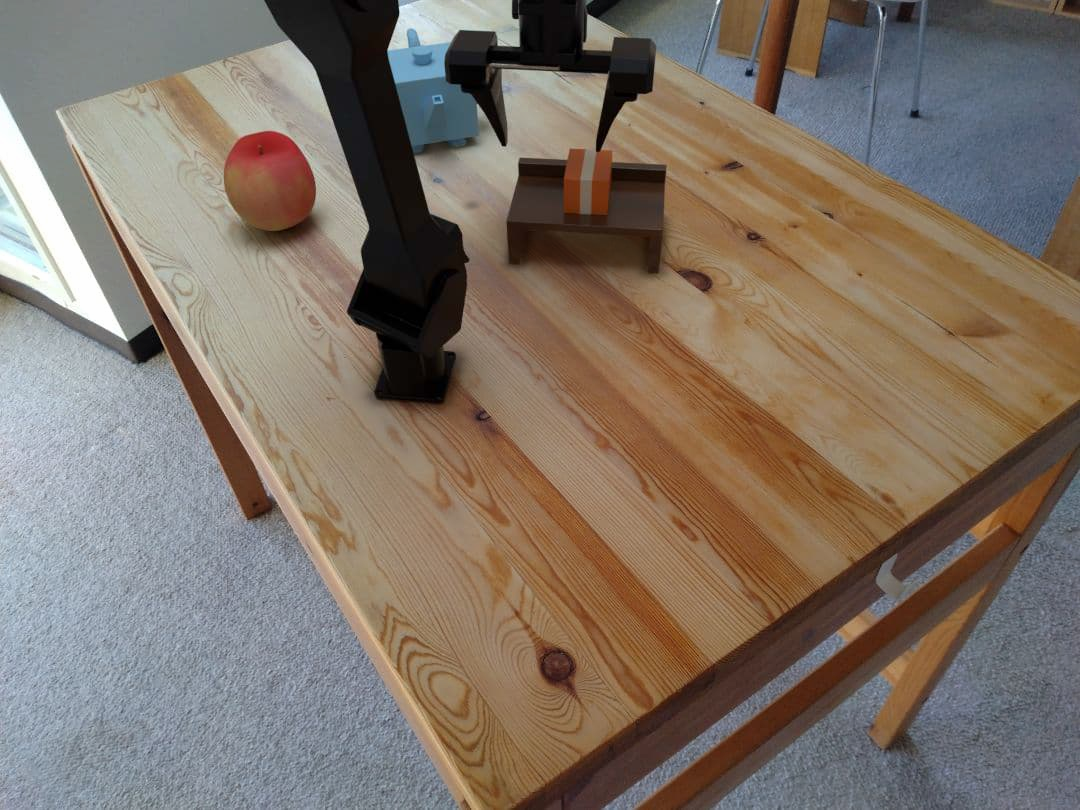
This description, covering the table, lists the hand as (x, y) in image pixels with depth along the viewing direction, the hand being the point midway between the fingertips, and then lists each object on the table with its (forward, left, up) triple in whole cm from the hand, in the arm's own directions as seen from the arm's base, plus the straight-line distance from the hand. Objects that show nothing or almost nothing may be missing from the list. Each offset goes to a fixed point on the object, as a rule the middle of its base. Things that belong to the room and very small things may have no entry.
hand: (551, 147), depth 83 cm
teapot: (+25, +18, -13) cm, 33 cm away
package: (+3, -4, -7) cm, 8 cm away
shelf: (+3, -4, -13) cm, 13 cm away
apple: (+3, +31, -13) cm, 34 cm away
